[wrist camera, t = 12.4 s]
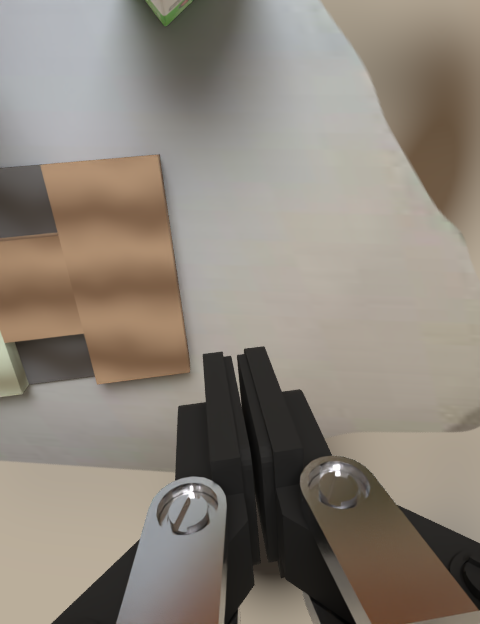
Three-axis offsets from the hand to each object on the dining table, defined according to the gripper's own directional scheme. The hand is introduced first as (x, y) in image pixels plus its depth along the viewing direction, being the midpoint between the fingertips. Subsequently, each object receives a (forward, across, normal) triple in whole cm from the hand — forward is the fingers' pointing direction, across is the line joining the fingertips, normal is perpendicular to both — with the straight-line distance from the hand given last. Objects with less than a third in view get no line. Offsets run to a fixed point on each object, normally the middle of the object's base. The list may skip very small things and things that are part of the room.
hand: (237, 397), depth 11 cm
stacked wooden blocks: (+27, +16, +4) cm, 31 cm away
